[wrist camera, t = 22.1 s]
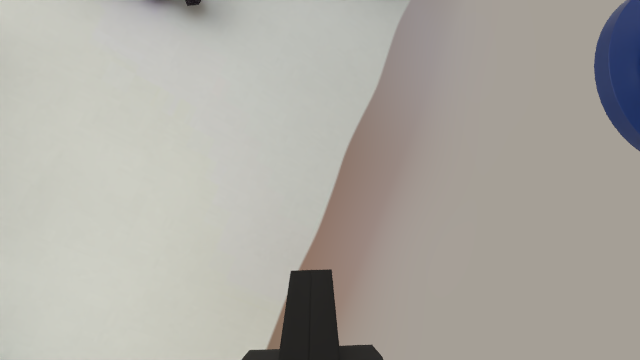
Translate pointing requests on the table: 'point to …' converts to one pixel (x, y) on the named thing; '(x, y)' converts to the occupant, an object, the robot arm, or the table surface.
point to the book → (192, 2)
